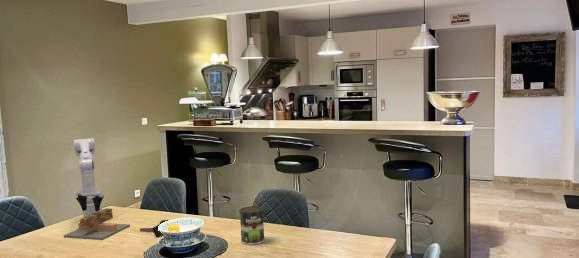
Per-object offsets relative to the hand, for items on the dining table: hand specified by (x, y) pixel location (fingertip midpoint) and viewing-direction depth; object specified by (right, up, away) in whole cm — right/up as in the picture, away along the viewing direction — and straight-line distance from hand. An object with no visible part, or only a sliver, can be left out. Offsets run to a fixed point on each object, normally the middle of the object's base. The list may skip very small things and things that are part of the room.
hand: (91, 210), depth 217 cm
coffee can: (+81, -9, -23) cm, 85 cm away
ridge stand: (+3, -10, 0) cm, 11 cm away
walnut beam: (+3, -6, 0) cm, 7 cm away
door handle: (+34, -10, -1) cm, 35 cm away
